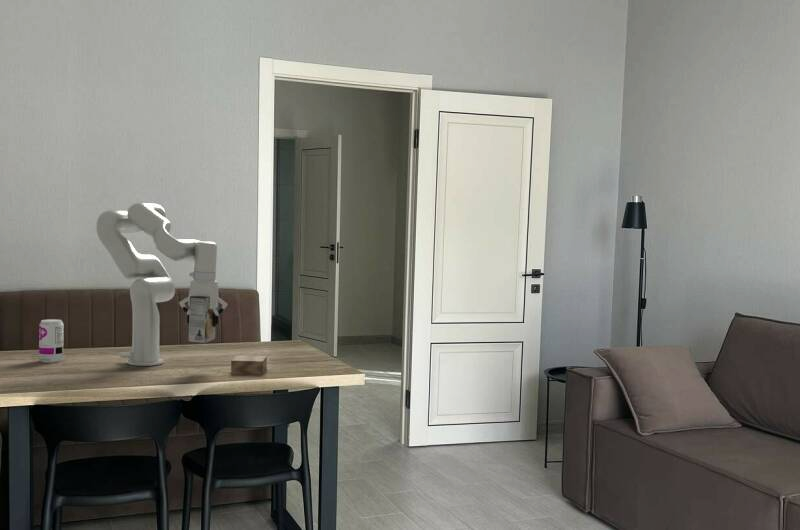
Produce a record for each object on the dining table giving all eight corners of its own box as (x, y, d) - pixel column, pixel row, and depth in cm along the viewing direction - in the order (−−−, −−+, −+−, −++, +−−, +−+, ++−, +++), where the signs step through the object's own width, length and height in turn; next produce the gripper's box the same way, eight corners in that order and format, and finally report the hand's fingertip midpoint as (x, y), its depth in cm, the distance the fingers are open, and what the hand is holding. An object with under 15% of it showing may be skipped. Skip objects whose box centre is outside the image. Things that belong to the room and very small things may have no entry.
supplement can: (42, 363, 292) (43, 322, 291) (36, 360, 298) (36, 319, 297) (66, 361, 297) (66, 321, 296) (59, 358, 303) (59, 318, 303)
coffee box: (199, 337, 293) (201, 293, 291) (215, 339, 291) (217, 294, 290) (187, 341, 284) (189, 295, 282) (204, 343, 282) (206, 297, 281)
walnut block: (231, 374, 284) (231, 360, 284) (236, 368, 295) (236, 355, 295) (262, 375, 285) (262, 361, 285) (266, 369, 296) (266, 356, 296)
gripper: (178, 276, 281) (175, 326, 282) (229, 278, 284) (227, 328, 285) (180, 274, 288) (178, 323, 289) (230, 276, 291) (228, 325, 292)
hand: (202, 325), depth 287 cm, fingers closed on coffee box, 7 cm apart
